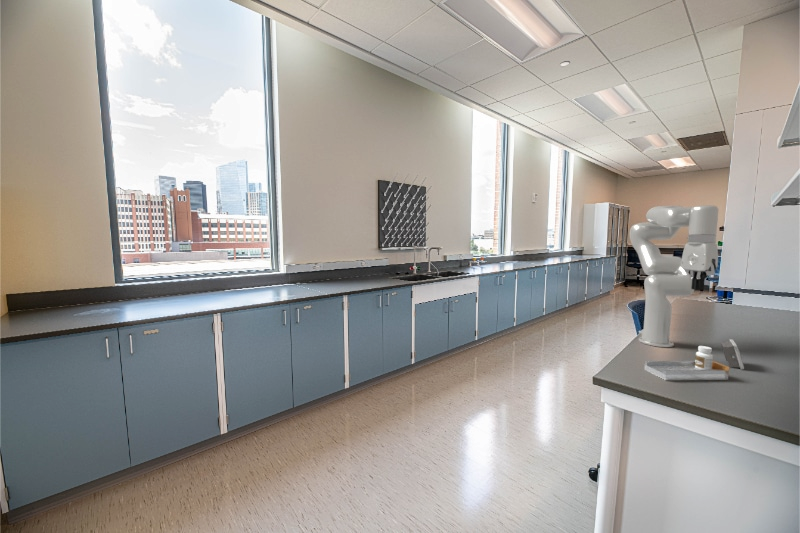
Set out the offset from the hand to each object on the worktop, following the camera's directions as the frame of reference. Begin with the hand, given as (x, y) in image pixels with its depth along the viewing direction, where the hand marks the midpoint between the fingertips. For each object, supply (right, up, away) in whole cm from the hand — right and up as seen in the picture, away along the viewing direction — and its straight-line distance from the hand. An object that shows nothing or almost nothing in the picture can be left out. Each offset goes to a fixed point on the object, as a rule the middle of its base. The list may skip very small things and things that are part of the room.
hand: (697, 289), depth 120 cm
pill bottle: (-3, -28, -5) cm, 29 cm away
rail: (-10, -30, -6) cm, 32 cm away
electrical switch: (+16, -29, +3) cm, 33 cm away
